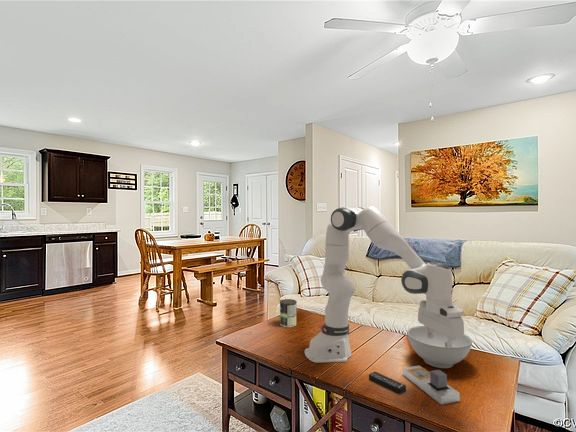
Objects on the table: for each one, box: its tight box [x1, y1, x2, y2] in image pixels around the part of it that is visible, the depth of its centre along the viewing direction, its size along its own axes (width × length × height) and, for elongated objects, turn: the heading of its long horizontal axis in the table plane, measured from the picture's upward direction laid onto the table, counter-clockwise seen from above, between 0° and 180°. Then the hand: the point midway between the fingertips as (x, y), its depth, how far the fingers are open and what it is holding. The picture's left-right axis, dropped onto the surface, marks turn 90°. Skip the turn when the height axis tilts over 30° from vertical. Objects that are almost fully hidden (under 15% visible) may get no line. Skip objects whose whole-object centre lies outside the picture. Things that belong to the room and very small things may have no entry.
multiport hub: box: [368, 371, 407, 395], centre depth 129 cm, size 4×14×2 cm, turn 39°
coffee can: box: [279, 298, 298, 328], centre depth 199 cm, size 10×10×14 cm
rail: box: [402, 365, 461, 406], centre depth 127 cm, size 8×22×3 cm, turn 16°
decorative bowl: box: [406, 325, 473, 369], centre depth 149 cm, size 27×27×12 cm
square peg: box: [429, 369, 448, 391], centre depth 122 cm, size 4×4×8 cm
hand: (438, 342), depth 122 cm, fingers open, 8 cm apart
